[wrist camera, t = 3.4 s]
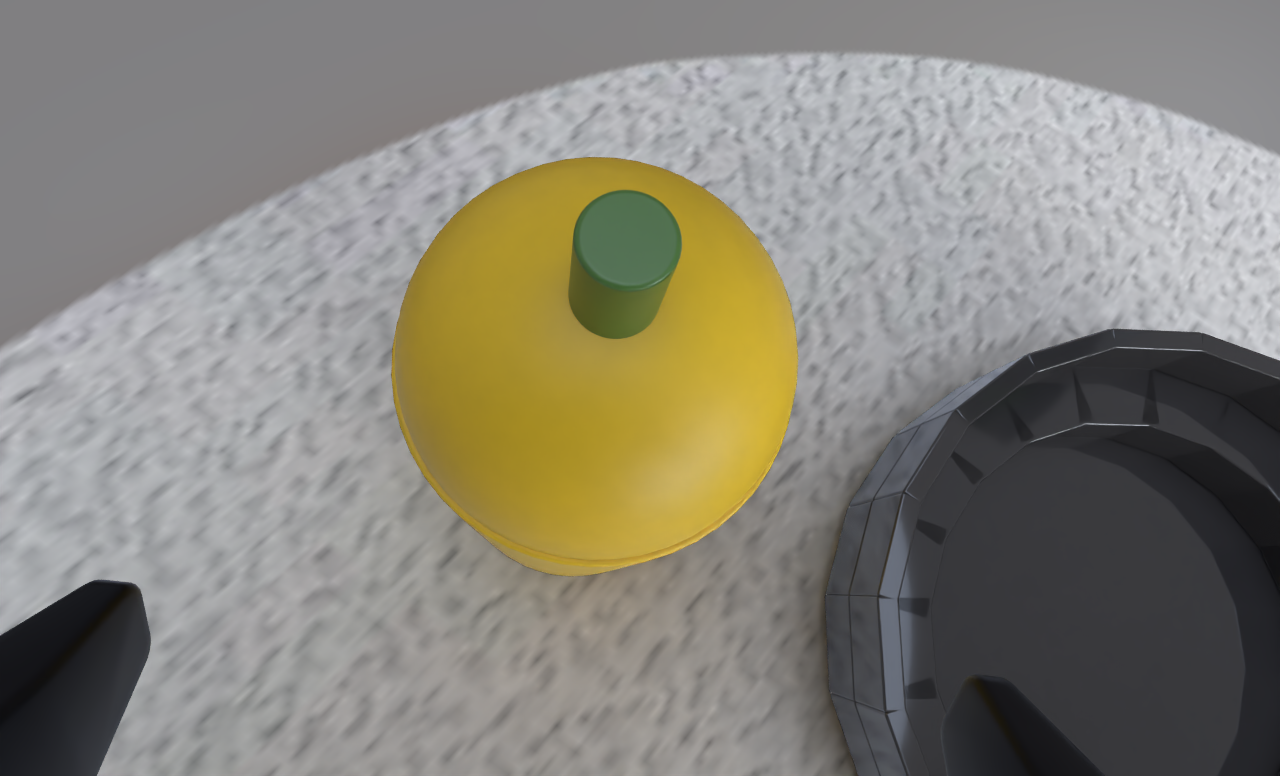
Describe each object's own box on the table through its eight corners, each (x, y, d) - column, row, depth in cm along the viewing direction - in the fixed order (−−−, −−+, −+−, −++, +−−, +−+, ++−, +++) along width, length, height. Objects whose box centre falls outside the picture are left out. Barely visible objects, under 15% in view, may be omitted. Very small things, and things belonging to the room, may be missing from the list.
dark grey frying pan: (1450, 702, 23) (1633, 725, 19) (1079, 1102, 20) (1211, 1229, 16) (1098, 277, 25) (1201, 220, 21) (706, 575, 21) (741, 572, 18)
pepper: (736, 484, 22) (1045, 320, 9) (544, 626, 21) (544, 700, 7) (603, 301, 23) (692, -117, 9) (409, 426, 22) (178, 147, 8)
